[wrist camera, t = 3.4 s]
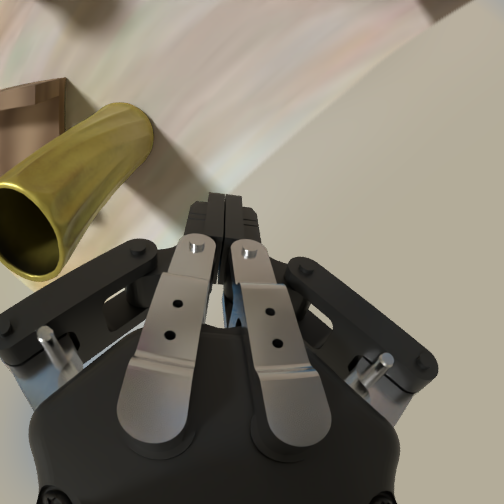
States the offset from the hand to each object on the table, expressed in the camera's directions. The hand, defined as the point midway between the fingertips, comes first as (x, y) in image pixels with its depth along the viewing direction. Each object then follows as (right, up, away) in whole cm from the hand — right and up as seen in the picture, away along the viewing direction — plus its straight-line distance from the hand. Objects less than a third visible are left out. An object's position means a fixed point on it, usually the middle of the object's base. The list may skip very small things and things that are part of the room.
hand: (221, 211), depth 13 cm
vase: (-9, +8, +7) cm, 14 cm away
